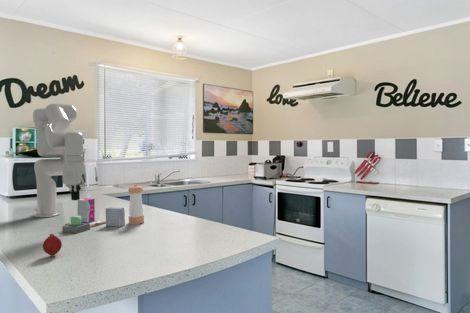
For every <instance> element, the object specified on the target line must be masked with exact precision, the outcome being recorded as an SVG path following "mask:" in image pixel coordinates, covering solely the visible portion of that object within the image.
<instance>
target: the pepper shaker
mask: <svg viewBox="0 0 470 313" xmlns="http://www.w3.org/2000/svg"><path fill="white" fill-rule="evenodd" d="M127 191H128V193H129V208H128V210H129V211H128V213H129V214H128V215H129V216H128V224H129V225H141V224H140V223H142V224H145V215H144V207H143V199H142V198H143V197H142V194H143V191H144V188H143V187H142V186H141V185H138V184H135V183H134V185H132V186H131V185H130V187H129V188H128V190H127Z"/></svg>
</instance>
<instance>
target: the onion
mask: <svg viewBox="0 0 470 313" xmlns="http://www.w3.org/2000/svg"><path fill="white" fill-rule="evenodd" d="M61 240H62V239H60V238H59V236H57V235H55V234H54V233H49V236H48V237H46V239H45V240H44V241H43V243H42V250H43V252H44V253H45V254H47V255H49V256H50V257H55V256H56V254H58V253H59V252H60V250H61V248H62V247H63V246H62V245H63V244H62V241H61Z"/></svg>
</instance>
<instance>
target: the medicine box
mask: <svg viewBox="0 0 470 313" xmlns="http://www.w3.org/2000/svg"><path fill="white" fill-rule="evenodd" d="M125 212H126V211H125V207H120V206H108V207H105V222H106V223H105V226H106V227H119V228H121V227H123V226H125V224H126V220H125V217H126V215H125ZM120 226H121V227H120Z"/></svg>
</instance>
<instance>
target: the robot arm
mask: <svg viewBox="0 0 470 313" xmlns="http://www.w3.org/2000/svg"><path fill="white" fill-rule="evenodd" d="M77 114H78V112H77V108H76V107H75V106H74V105H72V104H65V103H64V104H63V103H50V104H48V105H46V106H45V108H36V109H34V110H33V112H32V119H33V120H32V122H33V123H34V127H35V129H36V135H37V136H36V140H37V141H36V148H37V150H36V151H37V155H38V156H40V157H45V158H42V159H38V160H36V161H35V162H34V165H33V166H34V167H33V168H34V173H35V180H36V203H37V204H36V205H37V206H36V208H34V212H36V213H34V217H35V218H50V217H52V218H53V217H57V216H60V214H61V212H60V211H58V207H57V206H58V201H57V200H58V199H57V198H58V197H57V183H56V181H55V180H54V179H53V178H52V177H53V176H55V177H57V176H62V184H63V185H65V187H67V188H68V189H69V191H70V198H71V201H78V200H79V199H81V198H80V196H81V195H80V191H82V188H85V187H86V182H87V170H86V164H85V162H84V136H83V133H82V132H80V131H78V132H76V131H70V132H69V131H67V129H69V127H70V124H71V123H73V122H74V121H75V120H76V119H77ZM65 131H67V132H65ZM46 157H48V158H46ZM49 157H59V158H49Z"/></svg>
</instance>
